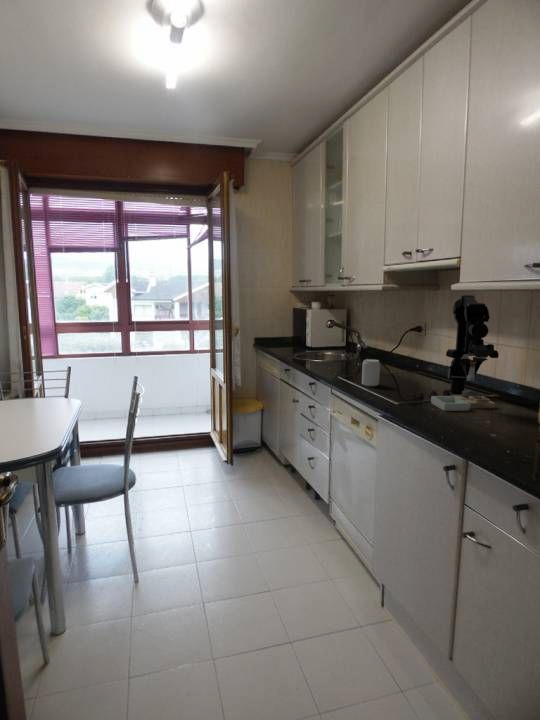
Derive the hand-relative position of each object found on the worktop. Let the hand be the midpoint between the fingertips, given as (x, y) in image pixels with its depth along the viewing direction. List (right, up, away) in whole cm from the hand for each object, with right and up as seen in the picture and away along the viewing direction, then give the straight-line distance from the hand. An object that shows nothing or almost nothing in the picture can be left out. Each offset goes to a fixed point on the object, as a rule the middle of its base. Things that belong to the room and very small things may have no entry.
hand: (470, 375), depth 177 cm
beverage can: (-31, -6, +40) cm, 51 cm away
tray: (-7, -12, +2) cm, 15 cm away
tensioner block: (+4, -12, +7) cm, 14 cm away
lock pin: (0, -2, 0) cm, 2 cm away
